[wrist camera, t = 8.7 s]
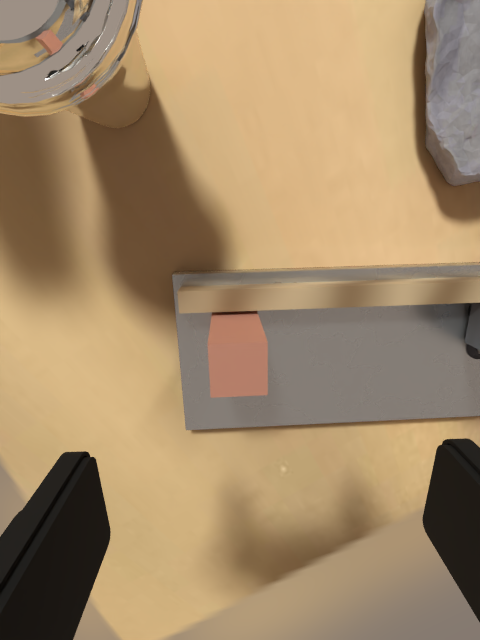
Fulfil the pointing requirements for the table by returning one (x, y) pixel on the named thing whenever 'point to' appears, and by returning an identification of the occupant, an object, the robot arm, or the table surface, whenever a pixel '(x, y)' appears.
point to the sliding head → (237, 355)
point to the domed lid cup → (73, 60)
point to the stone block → (453, 88)
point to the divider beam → (337, 296)
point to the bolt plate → (339, 354)
